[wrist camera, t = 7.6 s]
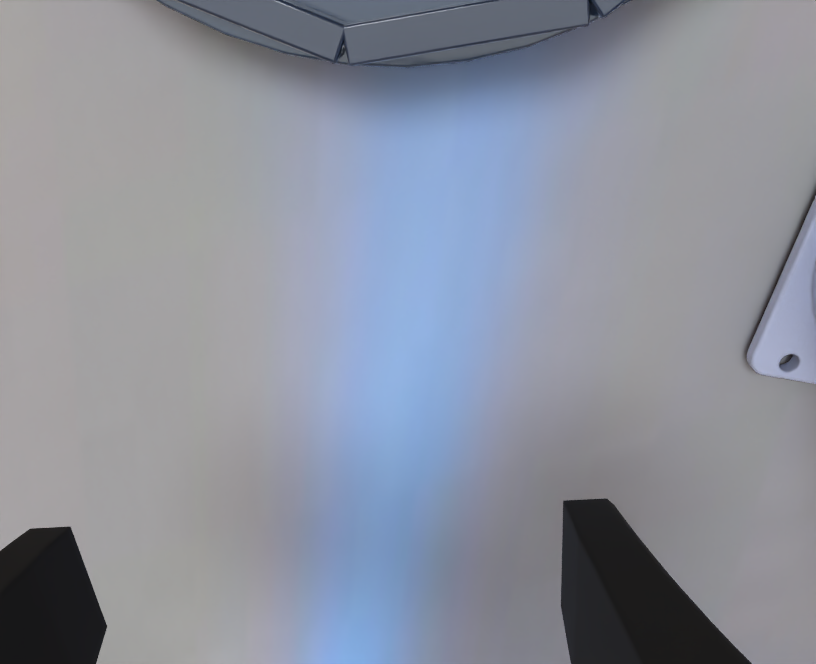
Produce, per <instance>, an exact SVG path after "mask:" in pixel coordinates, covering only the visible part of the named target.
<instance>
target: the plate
mask: <svg viewBox="0 0 816 664" xmlns="http://www.w3.org/2000/svg"><path fill="white" fill-rule="evenodd" d="M156 1H158V2H159V3H161V4H163V5H164V6H166V7H168V8H170V9H172V10H174V11H176V12H178V13H180V14H183V15H185V16H187V17H189V18H191V19H193V20H195V21H197V22H199V23H202V24H204V25H206V26H208V27H210V28H212V29H214V30H216V31H219V32H221V33H223V34H225V35H228V36H231V37H234V38H237V39H240V40H243V41H246V42H249V43H252V44H255V45H258V46H262V47H265V48H268V49H271V50H274V51H277V52H280V53H283V54H287V55H292V56H298V57H303V58H309V59H314V60H320V61H325V62H330V63H333V64H334V63H337V64H342V65H349V66H377V67H401V68H409V67H420V66H430V65H440V64H450V63H460V62H469V61H473V60H477V59H481V58H486V57H490V56H494V55H498V54H502V53H506V52H511V51H515V50H519V49H523V48H527V47H530V46H533V45H535V44H538V43H541V42H543V41H546V40H548V39H551V38H554V37H556V36H559V35H561V34H564V33H567V32H569V31H572V30H574V29H577V28H580V27H585V26H588V25H589V24H590V23H591V22H593V21H595V20H597V19H599V18H605V17H607V16H608V15H609V14H610V13H612V12H613V11H614V10H615V9H617V8H619V7H621V6H623V5H625V4H627V3H628V2H630V1H632V0H156Z"/></svg>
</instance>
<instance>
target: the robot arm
mask: <svg viewBox="0 0 816 664" xmlns="http://www.w3.org/2000/svg"><path fill="white" fill-rule="evenodd" d="M788 354H793V355H792V358H791V359H790V361H789V362H787V363H785V364H779V363H780V360H781V359H782V358H783V357H784V356H786V355H788ZM747 361H748V364H749V365H750V366H751V367H752V368H753V369H754V370H755V372H756V373H758V374H761V375H764V376H770V377H776V378H783V379H789V380H795V381H801V382H807V383H813V384H816V196H815V198H814V201H813V203H812V205H811V207H810V210H809V212H808V214H807V217H806V219H805V221H804V223H803V226H802V228H801V230H800V233H799V235H798V237H797V239H796V242H795V244H794V246H793V249H792V251H791V253H790V255H789V258H788V260H787V262H786V265H785V267H784V269H783V271H782V274H781V276H780V278H779V281H778V283H777V285H776V287H775V290H774V292H773V294H772V297H771V299H770V301H769V303H768V306H767V308H766V310H765V313H764V315H763V317H762V319H761V322H760V324H759V326H758V329H757V331H756V333H755V335H754V338H753V340H752V342H751V345H750V347H749V349H748V352H747ZM561 608H562V614H563V620H564V626H565V632H566V638H567V643H568V649H569V654H570V660H571V664H752V663H751V662H750V661H749V660H748V659H747V658H746V657H745V656H744V655H743V654H742V653H741V652H740V651H739V650H738V649H737V648H736V647H735V646H734V645H733V644H732V643H731V642H730V641H729V640H728V639H727V638H726V637H725V636H724V635H723V634H722V633H721V632H720V631H719V630H718V628H717V627H716V626H715V625H714V624H713V623H712V622H711V621H710V620H709V619H708V618H707V617H706V615H705V614H704V613H703V612H702V611H701V610H700V609H699V608H698V607H697V605H696V604H695V603H694V602H693V601H692V600H691V599H690V598H689V597H688V595H687V594H686V593H685V592H684V591H683V590H682V589H681V588H680V587H679V585H678V584H677V583H676V582H675V581H674V580H673V578H672V577H671V576H670V575H669V574H668V573H667V571H666V570H665V569H664V568H663V567H662V565H661V564H660V563H659V562H658V561H657V559H656V558H655V557H654V556H653V554H652V553H651V552H650V551H649V550H648V548H647V547H646V546H645V545H644V543H643V542H642V541H641V540H640V538H639V537H638V536H637V535H636V533H635V532H634V531H633V529H632V528H631V527H630V526H629V524H628V523H627V522H626V520H625V519H624V518H623V516H622V515H621V514H620V512H619V511H618V510H617V508H616V507H615V505H614V504H612V503H611V502H610V501H609V500H608V499H588V500H569V501H563V542H562V585H561ZM106 628H107V625H106V622H105V620H104V617H103V614H102V611H101V609H100V606H99V603H98V601H97V598H96V595H95V592H94V590H93V587H92V584H91V581H90V579H89V576H88V573H87V571H86V568H85V565H84V562H83V560H82V557H81V554H80V551H79V549H78V546H77V543H76V541H75V538H74V535H73V532H72V530H71V527H55V528H36V529H29V530H28V531H27V532H25V533H24V534H22V535H21V536H20V537H18V538H17V539H15V540H14V541H13V542H11V543H10V544H9V545H7V546H6V547H5V548H4V549H2V550H1V551H0V664H96V662H97V658H98V655H99V652H100V648H101V645H102V642H103V638H104V635H105V631H106Z"/></svg>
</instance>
